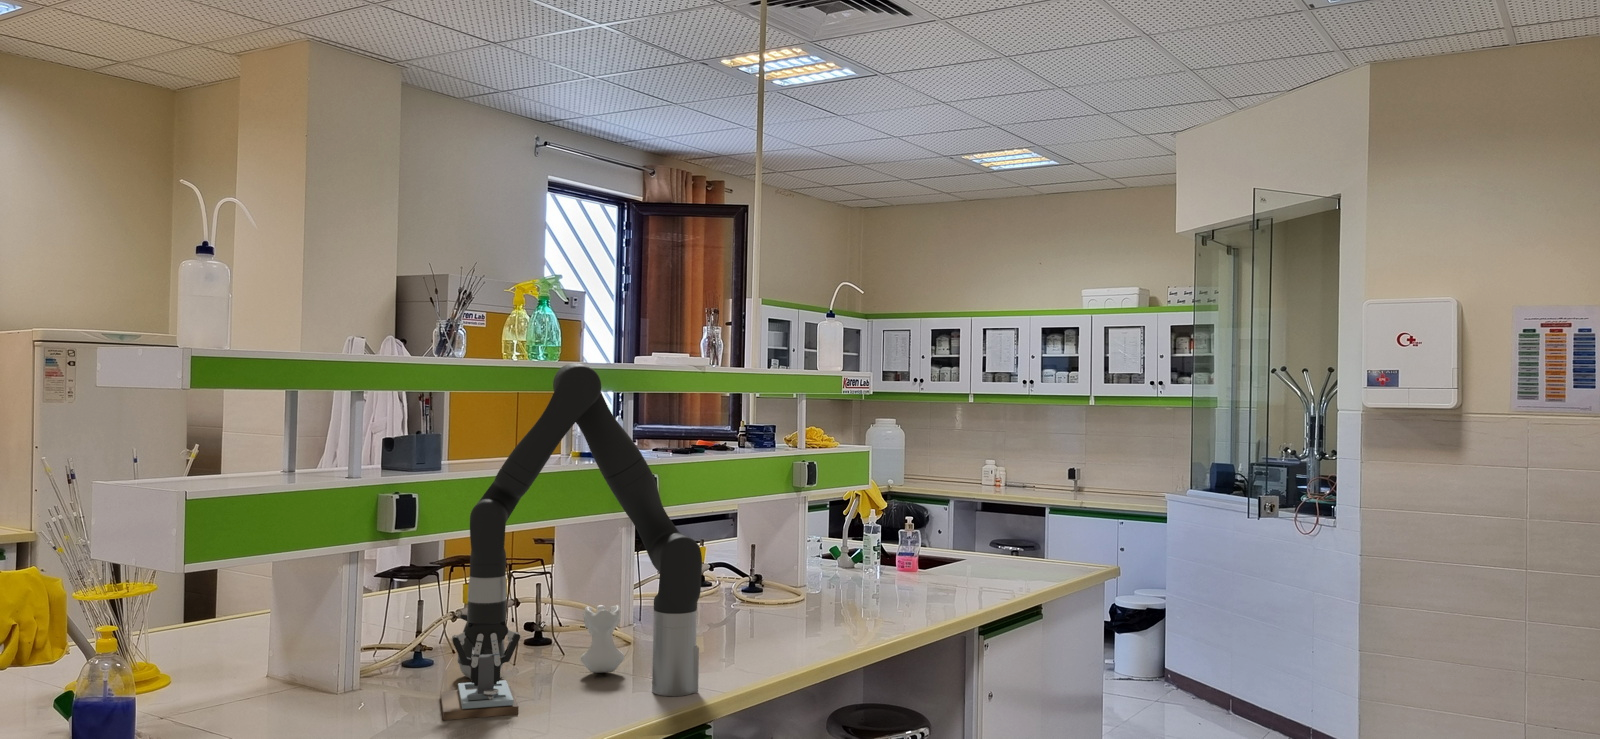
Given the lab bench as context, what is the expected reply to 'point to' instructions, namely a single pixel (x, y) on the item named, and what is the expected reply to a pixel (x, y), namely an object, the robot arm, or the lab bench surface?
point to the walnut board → (455, 711)
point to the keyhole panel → (485, 703)
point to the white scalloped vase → (602, 639)
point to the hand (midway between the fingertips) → (485, 684)
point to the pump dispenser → (469, 647)
